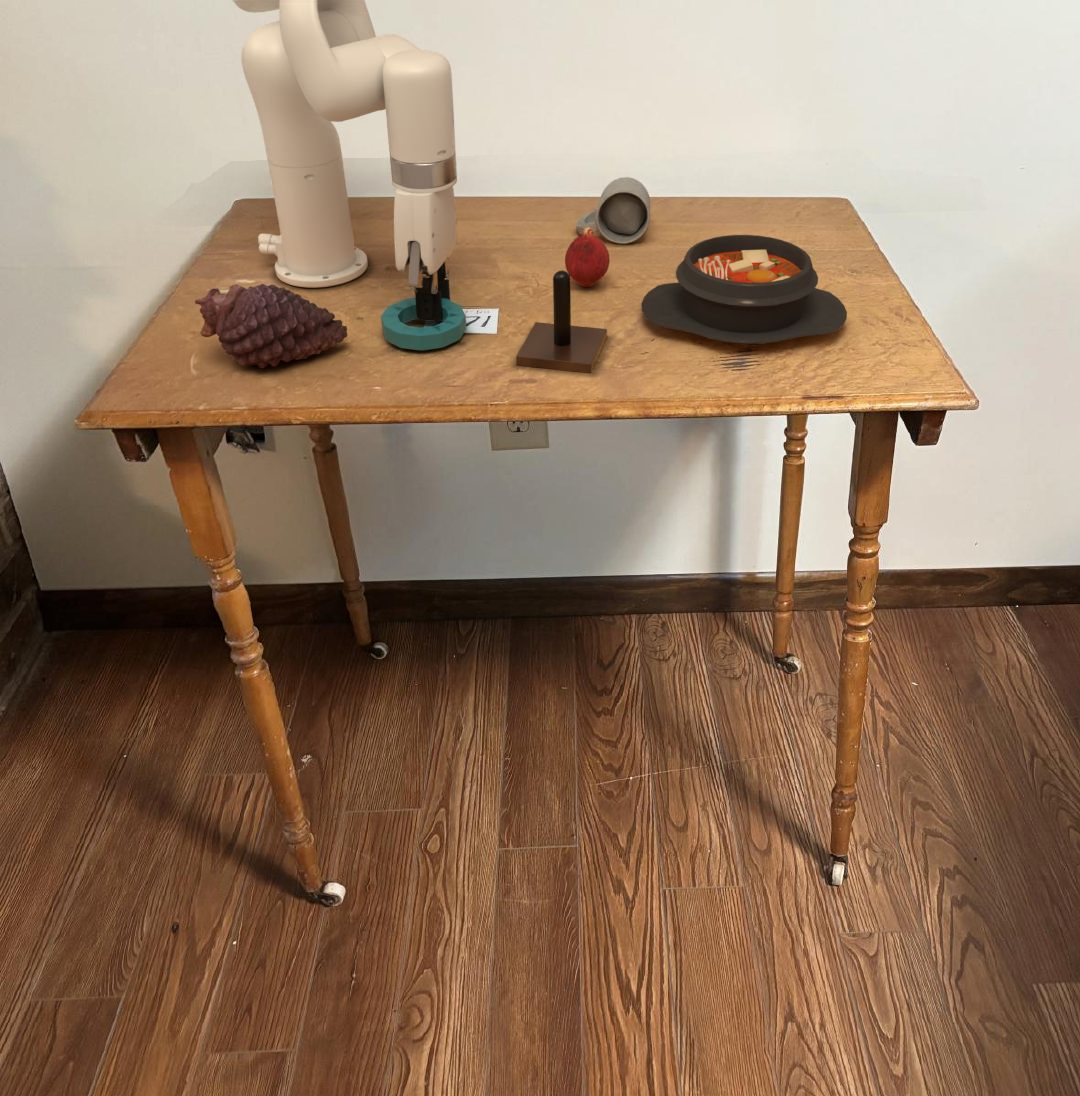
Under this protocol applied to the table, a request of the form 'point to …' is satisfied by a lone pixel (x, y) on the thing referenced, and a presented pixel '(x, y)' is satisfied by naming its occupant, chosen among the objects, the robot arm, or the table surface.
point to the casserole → (745, 293)
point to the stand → (562, 337)
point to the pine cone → (268, 324)
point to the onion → (587, 259)
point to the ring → (424, 336)
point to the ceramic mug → (620, 212)
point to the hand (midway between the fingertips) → (434, 313)
